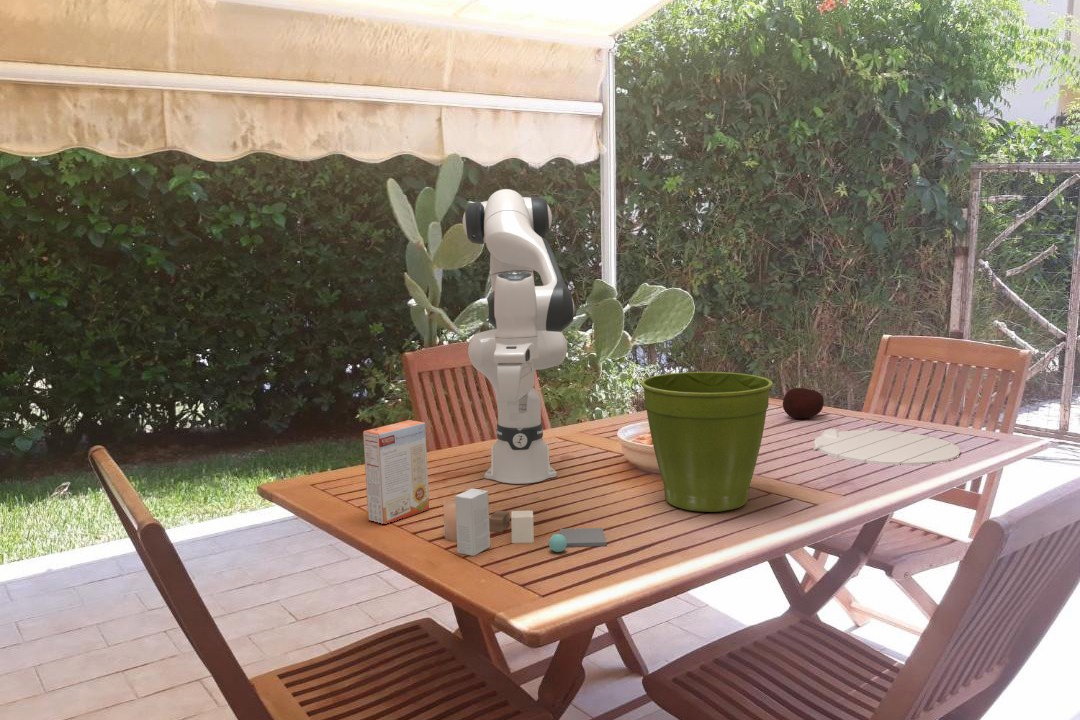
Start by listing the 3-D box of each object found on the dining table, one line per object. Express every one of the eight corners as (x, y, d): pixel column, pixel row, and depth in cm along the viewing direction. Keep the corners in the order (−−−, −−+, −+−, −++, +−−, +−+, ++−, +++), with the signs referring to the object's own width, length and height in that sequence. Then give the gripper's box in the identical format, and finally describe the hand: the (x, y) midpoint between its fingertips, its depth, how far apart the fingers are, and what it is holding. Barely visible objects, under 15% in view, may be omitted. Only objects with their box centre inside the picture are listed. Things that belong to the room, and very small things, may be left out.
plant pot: (776, 489, 226) (778, 373, 222) (762, 527, 198) (764, 395, 194) (656, 480, 236) (656, 369, 232) (627, 514, 208) (626, 389, 204)
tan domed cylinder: (445, 531, 199) (444, 499, 198) (478, 530, 199) (477, 498, 198) (443, 542, 192) (442, 509, 191) (477, 541, 192) (476, 508, 191)
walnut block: (496, 523, 204) (496, 510, 204) (509, 524, 203) (509, 511, 203) (488, 532, 198) (488, 518, 198) (502, 533, 198) (501, 519, 197)
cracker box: (412, 505, 217) (409, 418, 214) (430, 510, 214) (427, 421, 211) (366, 521, 207) (361, 429, 204) (384, 526, 203) (380, 433, 200)
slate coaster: (560, 532, 197) (560, 528, 197) (602, 531, 197) (602, 527, 197) (562, 547, 188) (562, 543, 188) (606, 545, 188) (606, 542, 188)
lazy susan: (784, 449, 267) (785, 437, 267) (854, 427, 293) (854, 417, 293) (919, 474, 238) (920, 461, 238) (983, 448, 264) (984, 437, 264)
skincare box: (473, 544, 191) (471, 487, 189) (490, 547, 188) (489, 490, 187) (456, 553, 185) (454, 495, 184) (473, 556, 183) (471, 498, 181)
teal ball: (548, 548, 187) (548, 531, 187) (566, 548, 187) (566, 531, 187) (549, 554, 184) (549, 537, 183) (567, 554, 184) (567, 537, 183)
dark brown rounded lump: (826, 422, 300) (827, 391, 299) (784, 422, 302) (785, 390, 300) (819, 415, 311) (820, 385, 310) (779, 415, 313) (780, 385, 311)
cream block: (511, 536, 195) (511, 510, 194) (533, 535, 195) (532, 510, 195) (511, 543, 191) (511, 517, 190) (533, 542, 191) (533, 517, 190)
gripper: (511, 345, 201) (513, 408, 203) (491, 355, 181) (493, 425, 183) (540, 345, 200) (541, 408, 202) (523, 355, 180) (525, 425, 182)
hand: (518, 416), depth 192 cm, fingers open, 8 cm apart
